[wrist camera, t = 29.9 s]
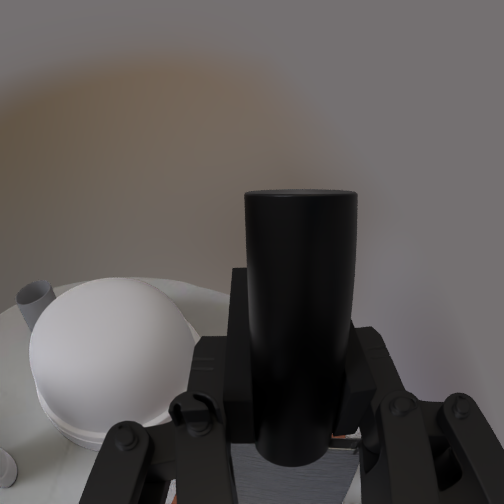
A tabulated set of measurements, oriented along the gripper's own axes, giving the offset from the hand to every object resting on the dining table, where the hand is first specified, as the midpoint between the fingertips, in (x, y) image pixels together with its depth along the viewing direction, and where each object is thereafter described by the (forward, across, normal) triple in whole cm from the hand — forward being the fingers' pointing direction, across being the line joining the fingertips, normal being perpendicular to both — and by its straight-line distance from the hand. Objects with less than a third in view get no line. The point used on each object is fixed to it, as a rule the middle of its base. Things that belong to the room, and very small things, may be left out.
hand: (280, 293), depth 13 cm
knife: (-9, 0, -12) cm, 14 cm away
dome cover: (+17, -23, -29) cm, 41 cm away
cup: (+26, -43, -29) cm, 58 cm away
